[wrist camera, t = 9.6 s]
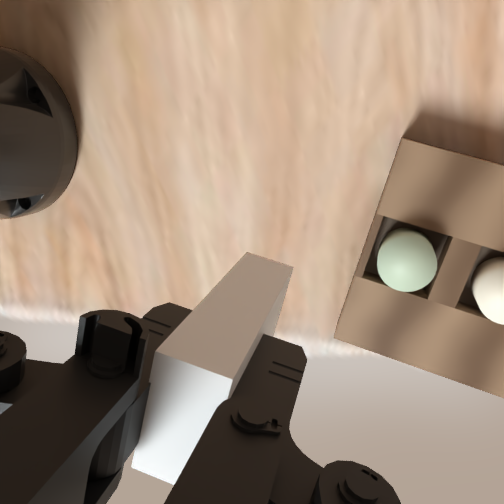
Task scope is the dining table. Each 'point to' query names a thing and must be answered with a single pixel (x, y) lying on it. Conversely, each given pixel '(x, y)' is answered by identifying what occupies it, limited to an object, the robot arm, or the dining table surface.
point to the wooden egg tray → (448, 268)
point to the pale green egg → (406, 260)
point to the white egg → (490, 288)
